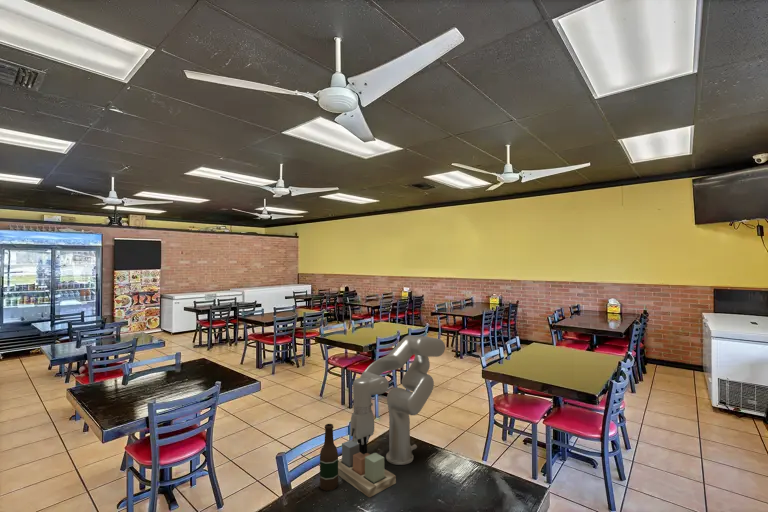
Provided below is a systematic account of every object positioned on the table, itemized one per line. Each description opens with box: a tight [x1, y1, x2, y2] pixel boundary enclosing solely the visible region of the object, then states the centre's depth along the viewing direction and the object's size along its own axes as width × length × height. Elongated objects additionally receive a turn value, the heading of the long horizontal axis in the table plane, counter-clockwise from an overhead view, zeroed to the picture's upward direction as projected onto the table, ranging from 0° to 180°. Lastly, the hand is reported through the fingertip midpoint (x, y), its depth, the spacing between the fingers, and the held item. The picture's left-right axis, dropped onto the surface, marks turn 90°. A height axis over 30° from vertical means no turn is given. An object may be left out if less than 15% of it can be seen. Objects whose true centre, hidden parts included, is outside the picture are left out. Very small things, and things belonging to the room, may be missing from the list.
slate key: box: [341, 439, 360, 468], centre depth 158 cm, size 6×6×8 cm
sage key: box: [365, 452, 385, 484], centre depth 146 cm, size 6×6×8 cm
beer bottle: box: [319, 423, 339, 492], centre depth 146 cm, size 8×8×24 cm
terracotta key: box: [352, 452, 371, 476], centre depth 152 cm, size 6×6×8 cm
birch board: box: [338, 458, 397, 498], centre depth 152 cm, size 14×26×3 cm, turn 42°
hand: (363, 452), depth 153 cm, fingers closed
